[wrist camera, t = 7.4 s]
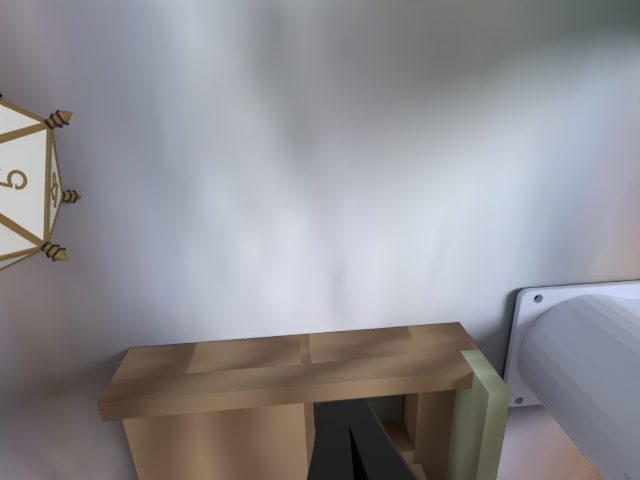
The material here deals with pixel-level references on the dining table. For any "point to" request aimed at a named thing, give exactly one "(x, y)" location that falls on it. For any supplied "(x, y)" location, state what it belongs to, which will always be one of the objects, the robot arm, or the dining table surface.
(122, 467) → the dining table surface
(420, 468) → the birch block
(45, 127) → the game die
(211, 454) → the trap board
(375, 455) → the robot arm
